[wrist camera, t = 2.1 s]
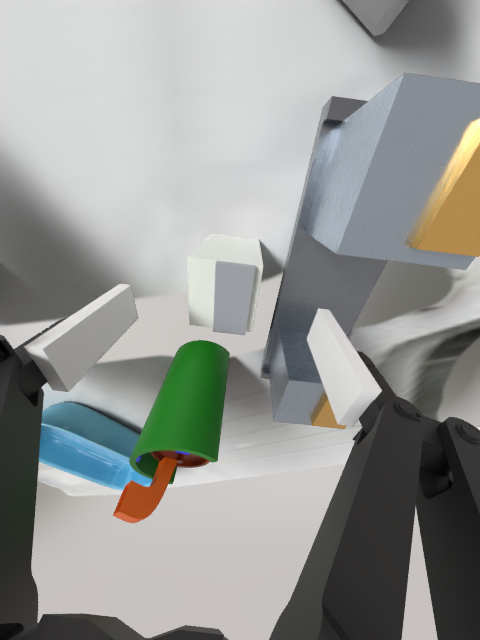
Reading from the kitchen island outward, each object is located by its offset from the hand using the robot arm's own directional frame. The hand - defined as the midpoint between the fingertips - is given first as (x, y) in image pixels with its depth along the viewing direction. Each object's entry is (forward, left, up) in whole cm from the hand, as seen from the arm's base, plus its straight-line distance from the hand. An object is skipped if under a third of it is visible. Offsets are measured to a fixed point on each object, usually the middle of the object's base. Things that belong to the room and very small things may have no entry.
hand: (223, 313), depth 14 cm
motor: (-4, -18, -12) cm, 22 cm away
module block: (0, 0, -12) cm, 12 cm away
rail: (+12, -2, -12) cm, 17 cm away
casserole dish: (-29, -49, -13) cm, 58 cm away
